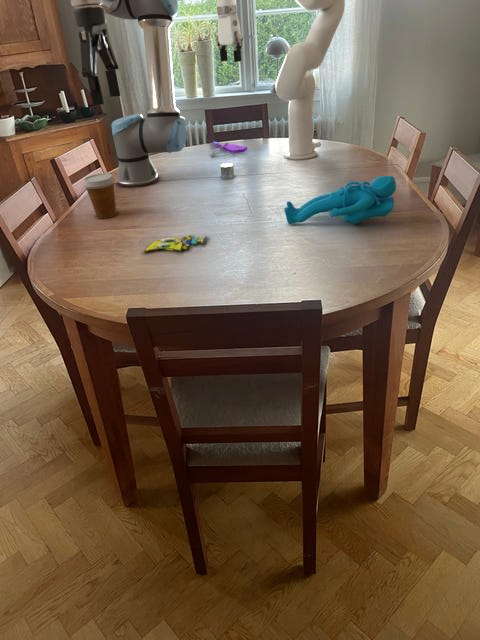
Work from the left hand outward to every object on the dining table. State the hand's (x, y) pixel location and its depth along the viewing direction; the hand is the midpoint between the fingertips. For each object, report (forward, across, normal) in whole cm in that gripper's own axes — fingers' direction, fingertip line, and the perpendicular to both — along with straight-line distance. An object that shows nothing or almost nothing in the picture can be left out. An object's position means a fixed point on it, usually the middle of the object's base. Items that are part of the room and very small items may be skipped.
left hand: (107, 100), depth 131 cm
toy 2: (+34, -7, -62) cm, 72 cm away
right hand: (0, +83, -24) cm, 86 cm away
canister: (+34, +41, -25) cm, 59 cm away
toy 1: (+34, -20, -18) cm, 44 cm away
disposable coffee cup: (+34, +5, +10) cm, 36 cm away
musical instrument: (+34, +80, -17) cm, 89 cm away
